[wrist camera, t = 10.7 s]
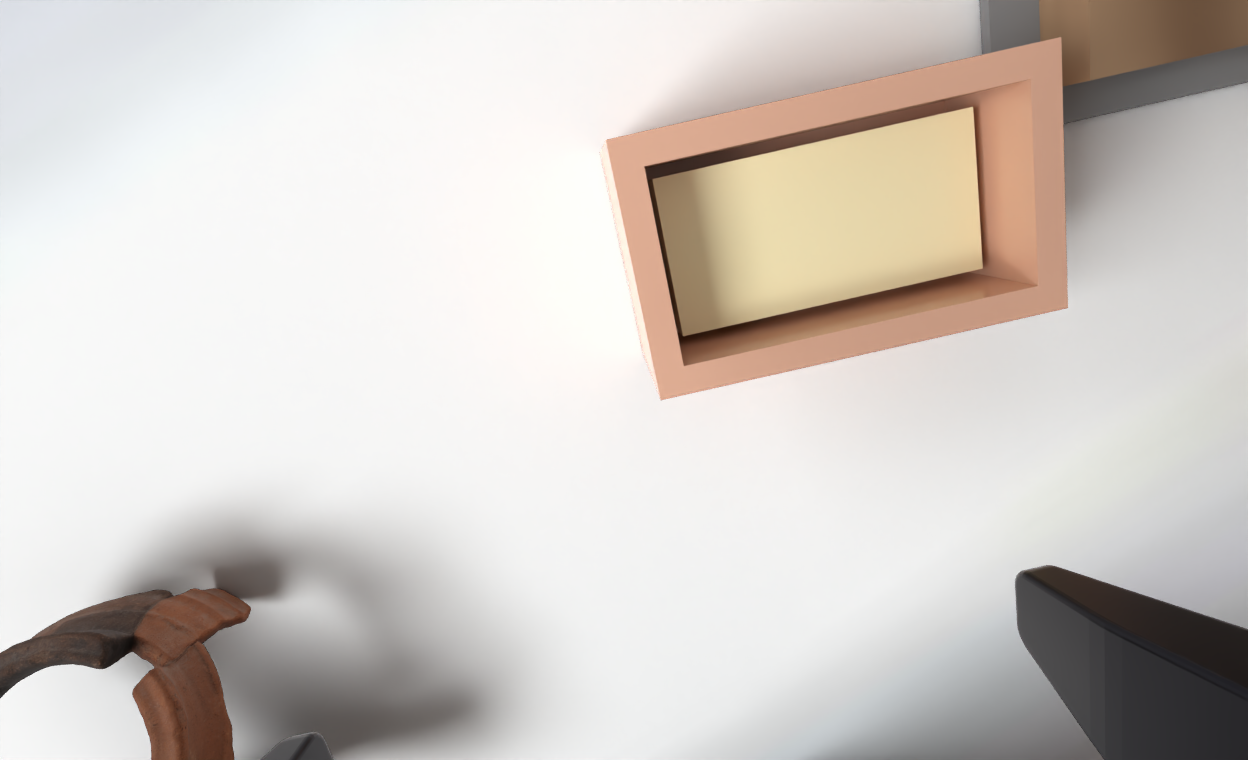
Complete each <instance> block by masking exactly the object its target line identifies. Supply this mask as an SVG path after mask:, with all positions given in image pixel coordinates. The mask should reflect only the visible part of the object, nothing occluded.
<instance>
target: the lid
mask: <svg viewBox="0 0 1248 760" xmlns="http://www.w3.org/2000/svg"><path fill="white" fill-rule="evenodd" d="M1039 15H1040V42H1041V41H1045V40H1050V39H1054V38H1059V37H1061V44H1062V86H1068V85H1072V84H1077V83H1081V82H1086V81H1090V80H1095V79H1099V78H1103V77H1108V76H1112V75H1117V74H1121V73H1125V72H1130V71H1134V70H1139V69H1143V68H1148V67H1152V66H1156V65H1161V64H1165V63H1170V62H1174V61H1179V60H1183V59H1187V58H1192V57H1196V56H1201V55H1205V54H1210V53H1214V52H1218V51H1223V50H1227V49H1232V48H1236V47H1241V46H1245V45H1248V0H1039Z"/></svg>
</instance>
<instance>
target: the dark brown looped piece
mask: <svg viewBox="0 0 1248 760" xmlns="http://www.w3.org/2000/svg"><path fill="white" fill-rule="evenodd" d="M250 611H251V608H250V606H249V605H247V604H246V603H245V602H243V601H242V600H240V599H239V598H237V597H235V596H233V595H231V594H229V593H228V592H226V591H224V590H221V589H215V588H213V589H206V590H199V589H194V588H193V589H190V590H188V591H187V592H185V593H183V594H181V595H176V596H173V595H172V593H170V592H169V591H166V590H153V591H149V592H145V593H139V594H134V595H129V596H125V597H122V598H118V599H115V600H110V601H106V602H103V603H100V604H97V605H94V606H91V607H88V608H85V609H83V610H80V611H78V612H75V613H73V614H71V615H68V616H66V617H65V618H63V619H61V620H59V621H58V622H56V623H54V624H52V625H50V626H49V627H47V628H45V629H44V630H42V631H41V632H39V633H38V634H36V635H35V636H34V637H32V638H31V639H30V640H27V641H24V642H22V643H19V644H16V645H13V646H12V647H10V648H8V649H7V650H5V651H3V652H1V653H0V698H1V697H2V696H3V695H4V694H5V693H6V692H7V691H8V690H9V689H10V688H12V687H13V686H14V685H15V684H16V683H18V682H19V681H20V680H22V679H24V678H26V677H28V676H30V675H32V674H33V673H35V672H37V671H39V670H41V669H44V668H46V667H50V666H55V665H66V664H75V665H84V666H88V667H92V668H96V669H105V668H107V667H109V666H111V665H113V664H114V663H115V662H117V661H119V660H120V659H121V658H122V657H124V656H125V655H127V654H128V653H130V652H135V653H136V654H137V655H138V656H140V657H141V658H142V659H144V660H147V661H149V662H150V663H151V664H153V666H154V669H152V670H150V671H149V672H148V673H147V674H146V675H145V676H144V677H143V678H142V680H141V681H140V682H139V683H138V684H137V685H136V686H135V688H134V689H133V693H132V694H133V697H134V699H135V701H136V703H137V705H138V708H139V711H140V713H141V715H142V717H143V719H144V723H145V726H146V728H147V731H148V735H149V737H150V742H151V760H234V752H233V747H232V742H233V738H232V725H231V722H230V719H229V717H228V714H227V710H226V706H225V702H224V698H223V690H222V687H221V681H220V678H219V675H218V672H217V669H216V667H215V665H214V663H213V661H212V659H211V657H210V655H209V653H208V652H207V650H206V648H205V646H204V645H203V644H202V643H203V642H205V641H206V640H207V639H208V638H210V637H211V636H213V635H214V634H215V633H216V632H218V631H219V630H222V629H223V628H227V627H231V626H233V625H235V624H239V623H243V622H245V621H246V620H247V618H248V616H249V614H250Z"/></svg>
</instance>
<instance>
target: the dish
mask: <svg viewBox="0 0 1248 760" xmlns="http://www.w3.org/2000/svg"><path fill="white" fill-rule="evenodd" d="M600 155H601V160H602V165H603V169H604V174H605V179H606V183H607V188H608V193H609V197H610V202H611V207H612V211H613V216H614V221H615V225H616V230H617V235H618V239H619V244H620V249H621V253H622V258H623V262H624V267H625V272H626V276H627V281H628V286H629V290H630V295H631V300H632V304H633V309H634V314H635V318H636V323H637V328H638V332H639V337H640V342H641V346H642V351H643V356H644V358H645V361H646V363H647V366H648V369H649V371H650V374H651V376H652V379H653V382H654V384H655V387H656V389H657V392H658V394H659V397H660V400H664V399H668V398H673V397H677V396H682V395H686V394H690V393H695V392H699V391H704V390H708V389H713V388H717V387H721V386H726V385H730V384H735V383H739V382H743V381H748V380H752V379H757V378H761V377H765V376H770V375H774V374H779V373H783V372H788V371H792V370H796V369H801V368H805V367H810V366H814V365H818V364H823V363H827V362H832V361H836V360H841V359H845V358H849V357H854V356H858V355H863V354H867V353H871V352H876V351H880V350H885V349H889V348H893V347H898V346H902V345H907V344H911V343H916V342H920V341H924V340H929V339H933V338H938V337H942V336H946V335H951V334H955V333H960V332H964V331H968V330H973V329H977V328H982V327H986V326H991V325H995V324H999V323H1004V322H1008V321H1013V320H1017V319H1021V318H1026V317H1030V316H1035V315H1039V314H1043V313H1048V312H1052V311H1057V310H1061V309H1066V308H1068V297H1067V255H1066V213H1065V171H1064V129H1063V86H1062V44H1061V37H1059V38H1054V39H1050V40H1045V41H1041V42H1036V43H1032V44H1028V45H1023V46H1019V47H1014V48H1010V49H1006V50H1001V51H997V52H992V53H988V54H983V55H979V56H975V57H970V58H966V59H961V60H957V61H952V62H948V63H944V64H939V65H935V66H930V67H926V68H922V69H917V70H913V71H908V72H904V73H899V74H895V75H891V76H886V77H882V78H877V79H873V80H868V81H864V82H860V83H855V84H851V85H846V86H842V87H837V88H833V89H829V90H824V91H820V92H815V93H811V94H807V95H802V96H798V97H793V98H789V99H784V100H780V101H776V102H771V103H767V104H762V105H758V106H753V107H749V108H745V109H740V110H736V111H731V112H727V113H722V114H718V115H714V116H709V117H705V118H700V119H696V120H692V121H687V122H683V123H678V124H674V125H669V126H665V127H661V128H656V129H652V130H647V131H643V132H638V133H634V134H630V135H625V136H621V137H616V138H612V139H608V140H605V143H604V145H603V147H602V149H601V151H600Z"/></svg>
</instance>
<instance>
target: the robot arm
mask: <svg viewBox="0 0 1248 760" xmlns="http://www.w3.org/2000/svg"><path fill="white" fill-rule="evenodd" d="M1015 591H1016V610H1017V626H1018V631H1019V634H1020V637H1021V639H1022V641H1023V643H1024V645H1025V647H1026V648H1027V650H1028V651H1029V653H1030V654H1031V655H1032V657H1033V658H1034V660H1035V661H1036V663H1037V664H1038V666H1039V667H1040V668H1041V670H1042V671H1043V673H1044V674H1045V676H1046V677H1047V679H1048V680H1049V681H1050V683H1051V684H1052V686H1053V687H1054V689H1055V690H1056V692H1057V693H1058V694H1059V696H1060V697H1061V699H1062V700H1063V702H1064V703H1065V705H1066V706H1067V707H1068V709H1069V710H1070V712H1071V713H1072V715H1073V716H1074V718H1075V719H1076V720H1077V722H1078V723H1079V725H1080V726H1081V728H1082V729H1083V731H1084V732H1085V733H1086V735H1087V736H1088V738H1089V739H1090V741H1091V742H1092V743H1093V745H1094V746H1095V748H1096V749H1097V750H1098V752H1099V753H1100V754H1101V756H1102V757H1103V758H1104V760H1248V629H1246V628H1243V627H1240V626H1236V625H1233V624H1230V623H1227V622H1224V621H1221V620H1218V619H1215V618H1212V617H1209V616H1206V615H1203V614H1200V613H1197V612H1194V611H1191V610H1188V609H1185V608H1181V607H1178V606H1175V605H1172V604H1169V603H1166V602H1163V601H1160V600H1157V599H1154V598H1151V597H1148V596H1145V595H1142V594H1139V593H1136V592H1133V591H1130V590H1126V589H1123V588H1120V587H1117V586H1114V585H1111V584H1108V583H1105V582H1102V581H1099V580H1096V579H1093V578H1090V577H1087V576H1084V575H1081V574H1078V573H1075V572H1071V571H1068V570H1065V569H1062V568H1059V567H1056V566H1052V565H1046V566H1041V567H1037V568H1032V569H1028V570H1023V571H1021V572H1020V573H1018V575H1017V576H1016V579H1015ZM261 760H333V757H332V755H331V753H330V750H329V748H328V746H327V743H326V741H325V739H324V737H323V736H322V735H321V734H320V733H318V732H309V733H305V734H300V735H296V736H291V737H288V738H286V739H284V740H282V741H281V742H280V743H279V744H277V745H276V746H275V747H274V748H273V749H272V750H271V751H270V752H269V753H267V754H266V755H265V756H264V757H263V758H262V759H261Z"/></svg>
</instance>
